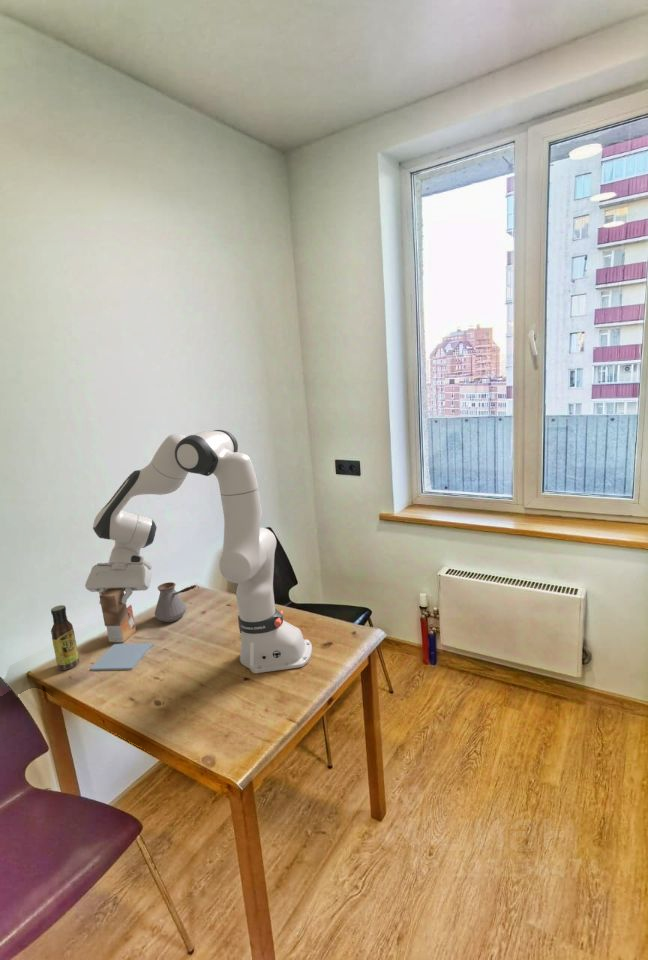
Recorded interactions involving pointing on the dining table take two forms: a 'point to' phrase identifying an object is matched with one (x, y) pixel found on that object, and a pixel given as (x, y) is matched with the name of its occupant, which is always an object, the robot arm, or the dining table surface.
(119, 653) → the slate board
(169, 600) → the coffee pot
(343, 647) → the dining table surface
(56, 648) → the sauce bottle
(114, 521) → the robot arm
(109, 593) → the walnut block
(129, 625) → the small box
